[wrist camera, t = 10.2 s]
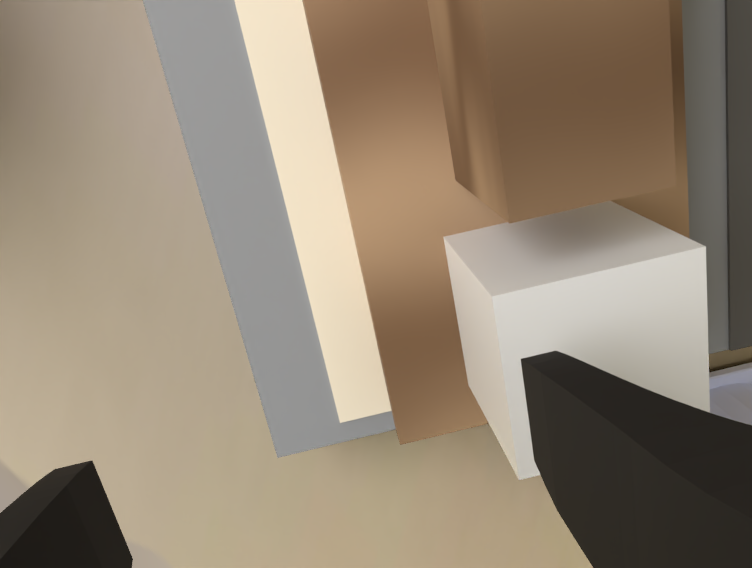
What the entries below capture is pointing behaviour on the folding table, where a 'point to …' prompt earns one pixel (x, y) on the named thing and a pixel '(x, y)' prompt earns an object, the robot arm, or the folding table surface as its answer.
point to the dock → (330, 213)
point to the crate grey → (578, 309)
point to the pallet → (423, 198)
